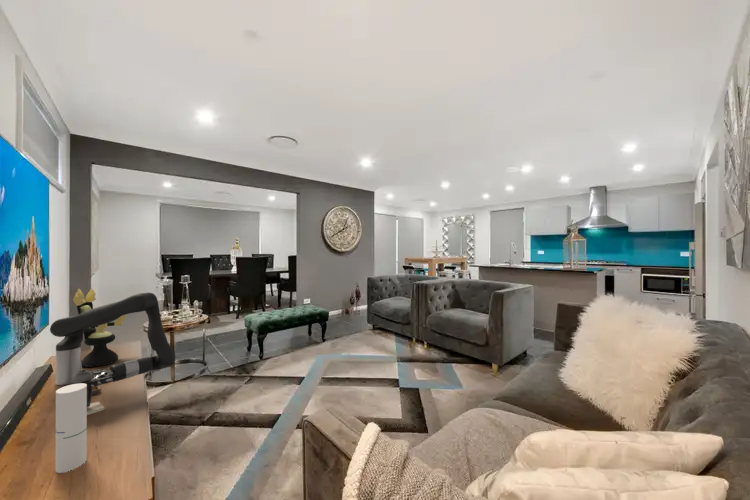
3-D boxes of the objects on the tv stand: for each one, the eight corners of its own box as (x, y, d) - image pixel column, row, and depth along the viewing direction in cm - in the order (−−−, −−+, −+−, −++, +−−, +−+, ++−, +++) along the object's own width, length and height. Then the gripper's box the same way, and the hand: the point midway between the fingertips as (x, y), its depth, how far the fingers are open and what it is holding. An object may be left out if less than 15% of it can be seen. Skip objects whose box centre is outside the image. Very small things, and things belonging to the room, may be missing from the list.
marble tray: (70, 394, 146) (70, 387, 146) (95, 387, 154) (95, 380, 153) (75, 400, 141) (75, 392, 141) (101, 393, 148) (101, 385, 148)
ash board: (60, 414, 129) (60, 412, 129) (98, 403, 139) (98, 401, 139) (65, 422, 124) (65, 419, 124) (104, 409, 133) (104, 407, 133)
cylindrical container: (69, 457, 103) (69, 383, 103) (92, 456, 104) (92, 383, 104) (48, 473, 96) (49, 393, 96) (73, 472, 97) (73, 393, 97)
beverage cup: (80, 412, 127) (79, 364, 127) (66, 410, 128) (65, 362, 128) (99, 403, 134) (98, 358, 134) (85, 401, 136) (85, 356, 135)
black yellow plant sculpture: (107, 368, 178) (107, 289, 177) (60, 370, 173) (61, 290, 172) (125, 356, 196) (126, 285, 196) (84, 358, 191) (85, 286, 191)
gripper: (119, 358, 147) (71, 370, 133) (130, 366, 138) (79, 378, 125) (119, 374, 147) (71, 387, 134) (130, 382, 139) (80, 397, 125)
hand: (75, 383), depth 129 cm, fingers closed on beverage cup, 7 cm apart
